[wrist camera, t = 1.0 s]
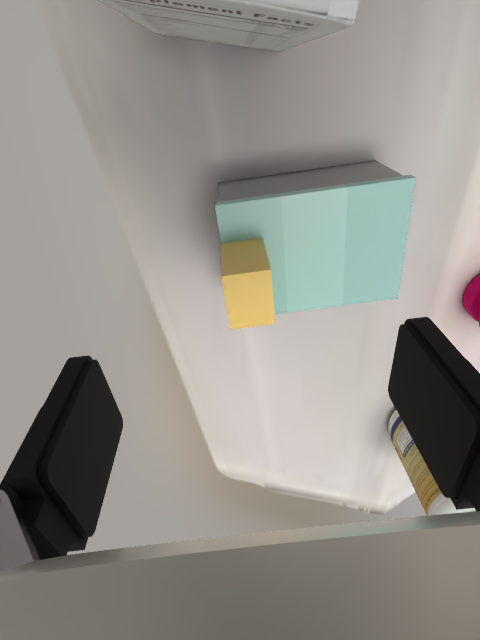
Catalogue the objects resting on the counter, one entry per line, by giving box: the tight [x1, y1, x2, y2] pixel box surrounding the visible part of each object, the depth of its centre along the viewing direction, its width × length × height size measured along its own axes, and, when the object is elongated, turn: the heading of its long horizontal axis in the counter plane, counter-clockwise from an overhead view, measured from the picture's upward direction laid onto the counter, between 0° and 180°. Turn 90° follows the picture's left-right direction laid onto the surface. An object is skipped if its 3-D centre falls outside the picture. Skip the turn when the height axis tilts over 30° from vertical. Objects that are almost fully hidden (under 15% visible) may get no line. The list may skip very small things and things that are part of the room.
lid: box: [215, 175, 416, 329], centre depth 25 cm, size 13×9×7 cm
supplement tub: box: [388, 410, 476, 515], centre depth 41 cm, size 12×12×17 cm
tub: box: [218, 160, 402, 202], centre depth 30 cm, size 13×9×6 cm
